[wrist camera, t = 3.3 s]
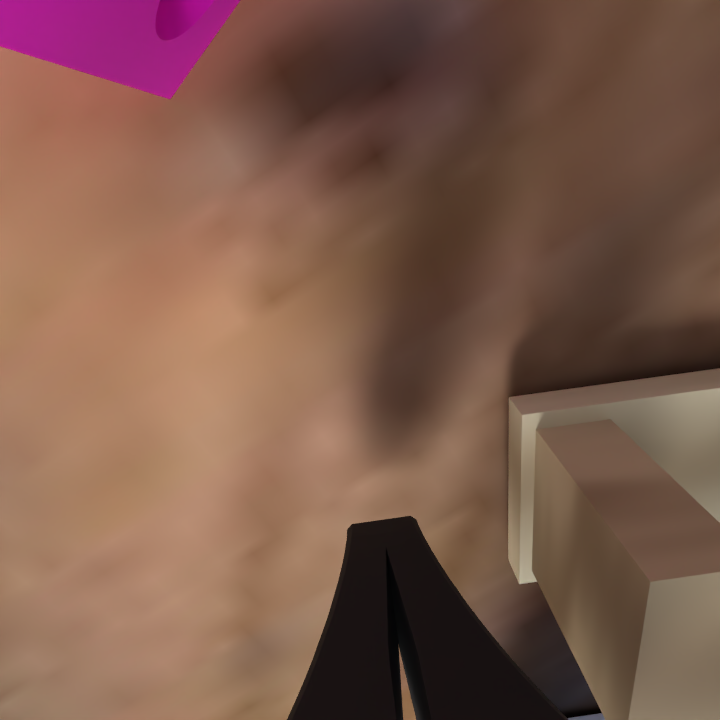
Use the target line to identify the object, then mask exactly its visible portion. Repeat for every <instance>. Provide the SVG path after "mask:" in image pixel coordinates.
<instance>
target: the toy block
mask: <svg viewBox="0 0 720 720" xmlns="http://www.w3.org/2000/svg"><path fill="white" fill-rule="evenodd" d="M239 2H240V0H0V46H1V47H4V48H7V49H11V50H14V51H17V52H20V53H23V54H27V55H30V56H33V57H36V58H40V59H43V60H46V61H49V62H52V63H56V64H59V65H62V66H65V67H68V68H72V69H75V70H78V71H81V72H84V73H88V74H91V75H94V76H97V77H100V78H104V79H107V80H110V81H113V82H116V83H120V84H123V85H126V86H129V87H132V88H136V89H139V90H142V91H145V92H149V93H152V94H155V95H158V96H161V97H165V98H168V99H171V97H172V96H173V95H174V93H175V92H176V90H177V89H178V87H179V86H180V85H181V83H182V82H183V80H184V79H185V78H186V76H187V75H188V73H189V72H190V71H191V69H192V68H193V66H194V65H195V64H196V62H197V61H198V59H199V58H200V56H201V55H202V54H203V52H204V51H205V49H206V48H207V47H208V45H209V44H210V42H211V41H212V40H213V38H214V37H215V35H216V34H217V33H218V31H219V30H220V28H221V27H222V26H223V24H224V23H225V21H226V20H227V18H228V17H229V16H230V14H231V13H232V11H233V10H234V9H235V7H236V6H237V4H238V3H239Z"/></svg>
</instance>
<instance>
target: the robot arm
mask: <svg viewBox="0 0 720 720" xmlns="http://www.w3.org/2000/svg"><path fill="white" fill-rule="evenodd" d="M398 644H399V647H398ZM399 648H400V653H401V657H402V661H403V665H404V669H405V674H406V678H407V682H408V686H409V690H410V694H411V699H412V703H413V707H414V711H415V715H416V720H605V718H604V716H603V714H602V713H598V714H591V715H584V716H578V717H571V718H566V717H565V716H564V715H563V714H562V713H561V712H560V711H559V709H558V708H557V707H556V706H555V705H554V704H553V703H552V702H551V701H550V700H549V699H548V698H547V697H546V696H545V695H544V694H543V693H542V692H541V691H540V690H539V689H538V688H537V687H536V686H535V684H534V683H533V682H532V681H531V680H530V679H529V678H528V677H527V676H526V674H525V673H524V672H523V671H522V670H521V669H520V668H519V667H518V666H517V665H516V663H515V662H514V661H513V660H512V659H511V658H510V656H509V655H508V654H507V653H506V652H505V651H504V649H503V648H502V647H501V646H500V645H499V643H498V642H497V641H496V640H495V639H494V637H493V636H492V635H491V634H490V632H489V631H488V630H487V629H486V627H485V626H484V625H483V624H482V622H481V621H480V620H479V619H478V617H477V616H476V615H475V613H474V612H473V611H472V609H471V608H470V607H469V605H468V604H467V603H466V601H465V600H464V598H463V597H462V596H461V594H460V593H459V591H458V590H457V588H456V587H455V586H454V584H453V583H452V581H451V580H450V579H449V577H448V576H447V574H446V573H445V571H444V569H443V568H442V566H441V565H440V563H439V562H438V560H437V558H436V557H435V555H434V553H433V552H432V550H431V548H430V547H429V545H428V543H427V541H426V539H425V538H424V536H423V534H422V532H421V530H420V528H419V525H418V523H417V520H416V519H414V518H413V517H411V516H406V517H399V518H392V519H385V520H378V521H371V522H364V523H357V524H352V525H351V526H350V527H349V528H348V529H347V541H346V548H345V554H344V559H343V564H342V568H341V572H340V577H339V581H338V584H337V588H336V591H335V594H334V598H333V601H332V605H331V608H330V612H329V615H328V618H327V621H326V624H325V627H324V629H323V632H322V635H321V638H320V641H319V643H318V646H317V649H316V652H315V655H314V657H313V660H312V663H311V665H310V668H309V670H308V673H307V675H306V678H305V680H304V682H303V685H302V687H301V690H300V692H299V694H298V696H297V699H296V701H295V703H294V705H293V708H292V710H291V712H290V714H289V717H288V719H287V720H403V710H402V694H401V678H400V663H399Z"/></svg>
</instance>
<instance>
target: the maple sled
mask: <svg viewBox="0 0 720 720" xmlns="http://www.w3.org/2000/svg"><path fill="white" fill-rule="evenodd" d="M508 560H509V562H510V565H511V567H512V569H513V571H514V573H515V576H516V578H517V580H518V582H519V584H524V583H531V582H538V584H539V586H540V588H541V590H542V592H543V594H544V596H545V598H546V600H547V602H548V604H549V606H550V609H551V611H552V613H553V615H554V617H555V619H556V621H557V623H558V625H559V627H560V629H561V631H562V633H563V635H564V637H565V639H566V641H567V643H568V645H569V647H570V649H571V651H572V653H573V655H574V657H575V659H576V661H577V663H578V665H579V667H580V669H581V671H582V673H583V676H584V678H585V680H586V682H587V684H588V686H589V688H590V690H591V692H592V694H593V696H594V698H595V700H596V702H597V704H598V706H599V708H600V710H601V712H602V714H603V716H604V718H605V720H720V368H718V369H711V370H704V371H696V372H689V373H682V374H674V375H667V376H660V377H652V378H645V379H638V380H631V381H623V382H616V383H609V384H601V385H594V386H587V387H579V388H572V389H565V390H557V391H550V392H543V393H535V394H528V395H521V396H513V397H509V484H508Z"/></svg>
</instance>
